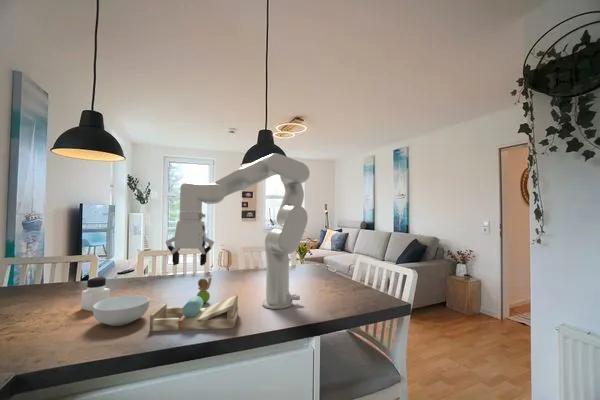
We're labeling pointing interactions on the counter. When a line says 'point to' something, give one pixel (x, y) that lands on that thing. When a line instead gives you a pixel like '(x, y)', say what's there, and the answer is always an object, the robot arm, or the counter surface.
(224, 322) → the launch ramp
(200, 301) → the roller
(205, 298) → the snail figurine
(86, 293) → the medicine bottle
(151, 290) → the counter surface
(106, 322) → the cereal bowl
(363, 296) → the counter surface
